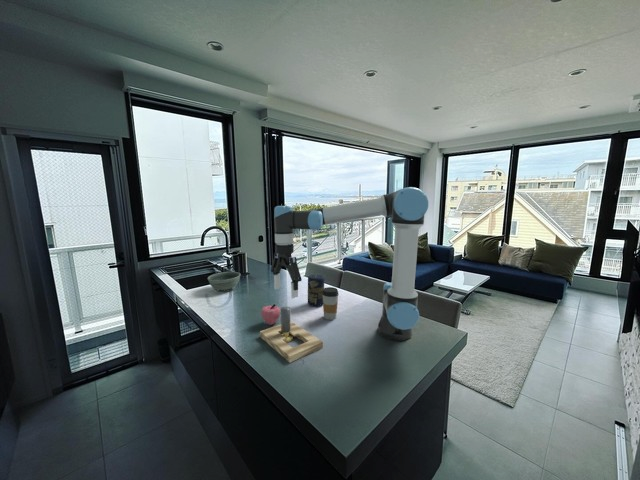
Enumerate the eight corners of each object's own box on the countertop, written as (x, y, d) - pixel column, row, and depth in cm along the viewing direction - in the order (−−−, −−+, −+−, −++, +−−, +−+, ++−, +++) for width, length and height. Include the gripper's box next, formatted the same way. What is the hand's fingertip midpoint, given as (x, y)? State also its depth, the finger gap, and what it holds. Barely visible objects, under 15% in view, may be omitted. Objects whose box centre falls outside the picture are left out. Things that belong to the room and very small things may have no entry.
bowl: (235, 295, 166) (234, 280, 164) (202, 295, 166) (201, 279, 164) (245, 284, 186) (244, 271, 185) (215, 284, 186) (215, 271, 185)
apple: (274, 317, 134) (273, 299, 133) (284, 323, 128) (284, 304, 127) (258, 323, 128) (257, 304, 126) (267, 330, 122) (267, 309, 120)
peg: (295, 339, 114) (295, 308, 112) (283, 344, 110) (283, 312, 108) (288, 333, 118) (287, 304, 116) (276, 338, 115) (275, 307, 112)
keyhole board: (322, 347, 107) (322, 341, 107) (289, 362, 97) (289, 356, 97) (290, 326, 126) (290, 320, 125) (260, 336, 116) (259, 331, 115)
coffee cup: (337, 321, 130) (337, 293, 128) (320, 320, 132) (320, 291, 130) (339, 314, 138) (339, 287, 136) (323, 313, 140) (323, 286, 138)
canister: (304, 306, 149) (304, 275, 147) (311, 300, 158) (311, 271, 155) (320, 308, 146) (320, 277, 143) (326, 302, 155) (326, 273, 152)
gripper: (309, 246, 101) (310, 299, 104) (276, 239, 120) (278, 283, 123) (293, 248, 96) (294, 303, 99) (261, 241, 115) (263, 287, 118)
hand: (285, 292), depth 111 cm, fingers open, 13 cm apart
